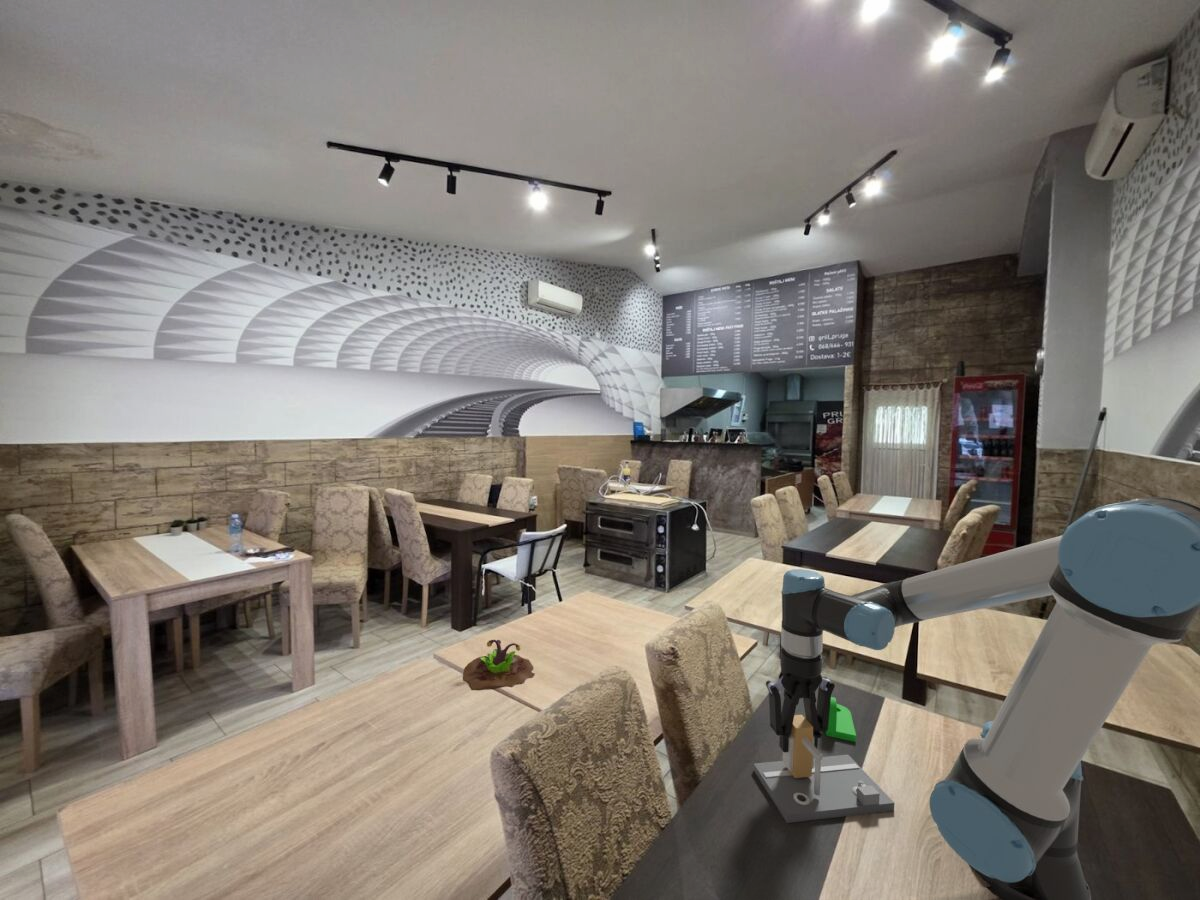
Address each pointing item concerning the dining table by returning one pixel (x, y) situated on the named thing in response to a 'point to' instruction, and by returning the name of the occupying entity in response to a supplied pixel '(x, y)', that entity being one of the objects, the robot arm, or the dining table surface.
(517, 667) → the plant
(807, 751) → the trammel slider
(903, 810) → the dining table surface
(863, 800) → the plate
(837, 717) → the mechanical part
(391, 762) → the dining table surface
